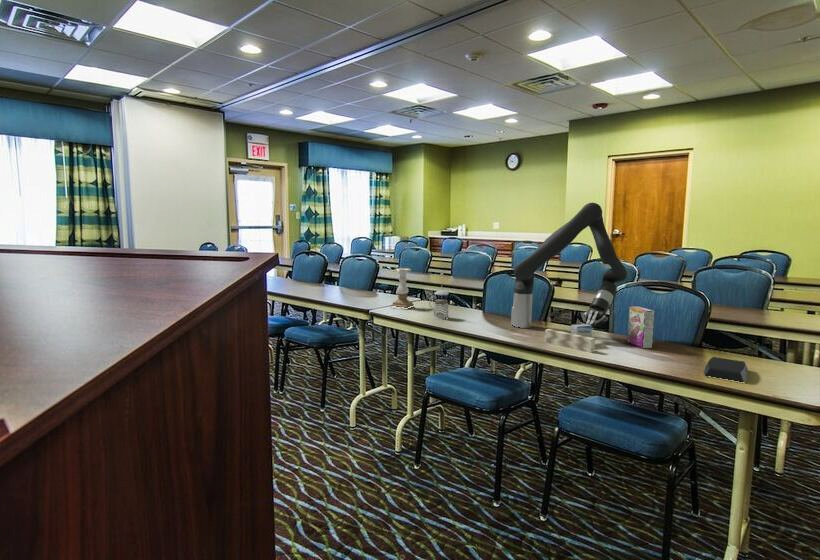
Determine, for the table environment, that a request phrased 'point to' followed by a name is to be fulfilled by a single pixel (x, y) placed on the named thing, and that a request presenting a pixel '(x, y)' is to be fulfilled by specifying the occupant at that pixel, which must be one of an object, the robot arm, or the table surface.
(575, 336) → the birch board
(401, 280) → the candle holder
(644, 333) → the candy bar box
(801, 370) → the table surface
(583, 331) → the medicine box
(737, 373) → the external hard drive
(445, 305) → the french press
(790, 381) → the table surface
